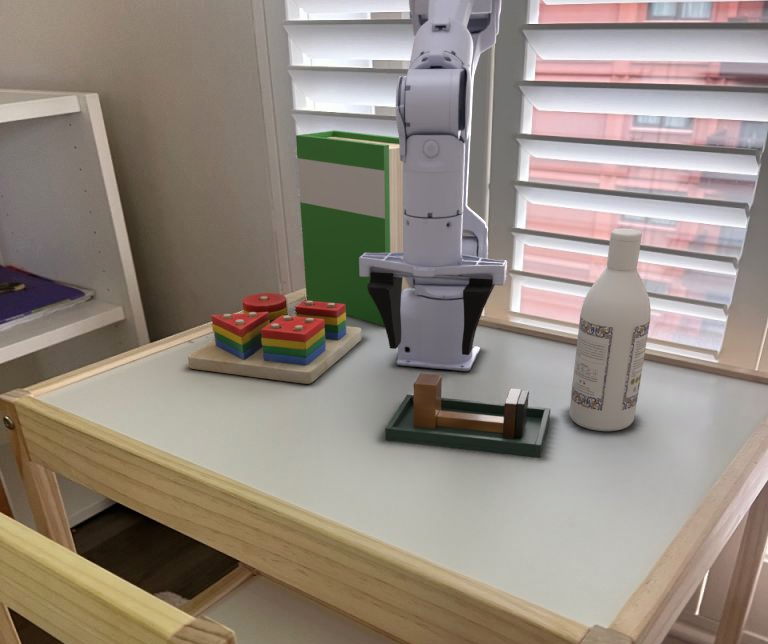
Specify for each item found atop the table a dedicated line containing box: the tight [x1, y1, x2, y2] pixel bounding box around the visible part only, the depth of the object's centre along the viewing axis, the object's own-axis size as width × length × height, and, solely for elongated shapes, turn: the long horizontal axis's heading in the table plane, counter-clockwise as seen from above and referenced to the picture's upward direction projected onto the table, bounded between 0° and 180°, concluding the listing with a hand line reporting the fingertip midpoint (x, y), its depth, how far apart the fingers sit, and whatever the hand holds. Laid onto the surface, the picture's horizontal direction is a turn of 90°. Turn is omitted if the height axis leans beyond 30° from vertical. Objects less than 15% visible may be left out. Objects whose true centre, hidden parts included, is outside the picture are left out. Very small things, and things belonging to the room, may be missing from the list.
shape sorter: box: [187, 292, 362, 385], centre depth 106 cm, size 18×17×6 cm
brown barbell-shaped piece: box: [413, 372, 530, 439], centre depth 85 cm, size 12×4×5 cm, turn 74°
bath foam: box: [569, 227, 652, 432], centre depth 83 cm, size 7×7×20 cm
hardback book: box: [295, 129, 415, 327], centre depth 117 cm, size 18×7×24 cm, turn 45°
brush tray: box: [384, 394, 551, 458], centre depth 86 cm, size 16×9×1 cm, turn 74°
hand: (430, 348), depth 84 cm, fingers open, 7 cm apart
